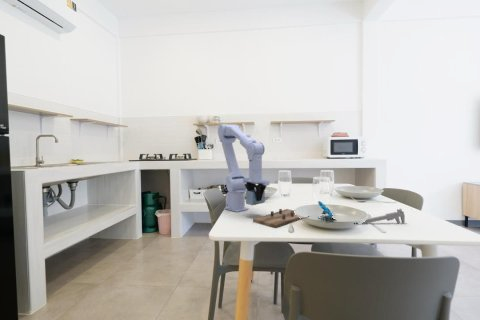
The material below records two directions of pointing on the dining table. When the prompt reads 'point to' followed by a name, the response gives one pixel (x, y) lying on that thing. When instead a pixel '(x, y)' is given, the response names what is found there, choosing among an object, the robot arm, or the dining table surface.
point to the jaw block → (254, 197)
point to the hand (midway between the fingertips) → (255, 199)
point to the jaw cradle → (277, 218)
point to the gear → (325, 209)
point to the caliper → (388, 217)
